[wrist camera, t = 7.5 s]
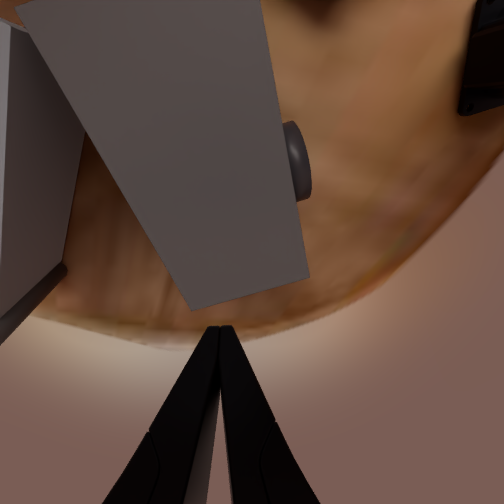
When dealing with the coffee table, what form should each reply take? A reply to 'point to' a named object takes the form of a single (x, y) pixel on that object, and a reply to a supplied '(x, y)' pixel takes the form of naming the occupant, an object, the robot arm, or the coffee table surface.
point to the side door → (32, 176)
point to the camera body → (187, 133)
